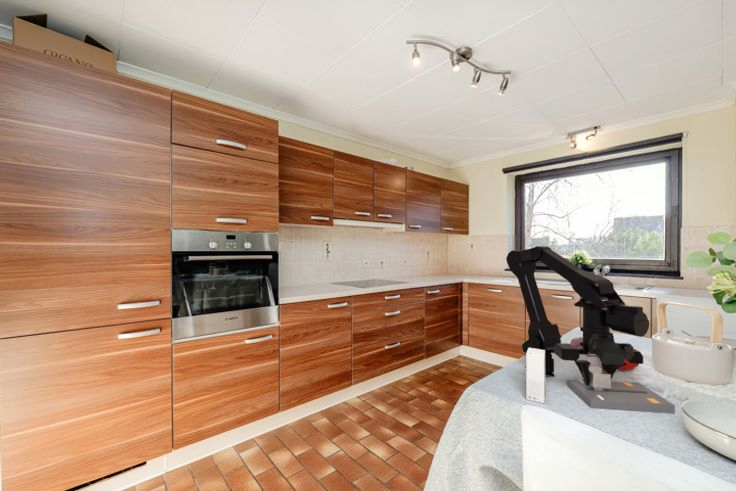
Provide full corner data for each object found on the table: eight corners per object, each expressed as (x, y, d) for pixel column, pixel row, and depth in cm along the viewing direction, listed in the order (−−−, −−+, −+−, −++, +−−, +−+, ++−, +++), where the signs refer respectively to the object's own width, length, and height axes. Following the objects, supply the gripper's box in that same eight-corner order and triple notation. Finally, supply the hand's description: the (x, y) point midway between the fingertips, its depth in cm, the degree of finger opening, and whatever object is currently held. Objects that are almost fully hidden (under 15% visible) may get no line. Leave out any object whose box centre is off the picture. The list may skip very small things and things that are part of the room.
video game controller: (603, 360, 110) (601, 340, 113) (604, 358, 107) (603, 338, 109) (570, 355, 115) (569, 336, 118) (570, 353, 112) (569, 334, 114)
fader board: (590, 407, 75) (590, 399, 75) (567, 385, 87) (567, 378, 87) (674, 413, 73) (674, 404, 73) (638, 389, 84) (638, 382, 84)
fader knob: (593, 393, 79) (593, 373, 79) (583, 384, 84) (582, 366, 84) (610, 394, 78) (610, 374, 78) (599, 385, 83) (599, 366, 83)
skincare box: (545, 404, 77) (544, 356, 77) (526, 399, 80) (525, 353, 80) (546, 394, 83) (545, 349, 83) (528, 390, 85) (527, 347, 85)
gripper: (572, 333, 74) (572, 398, 74) (660, 336, 71) (661, 404, 71) (552, 322, 85) (552, 378, 85) (628, 324, 82) (628, 382, 82)
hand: (596, 385), depth 81 cm, fingers closed on fader knob, 4 cm apart
